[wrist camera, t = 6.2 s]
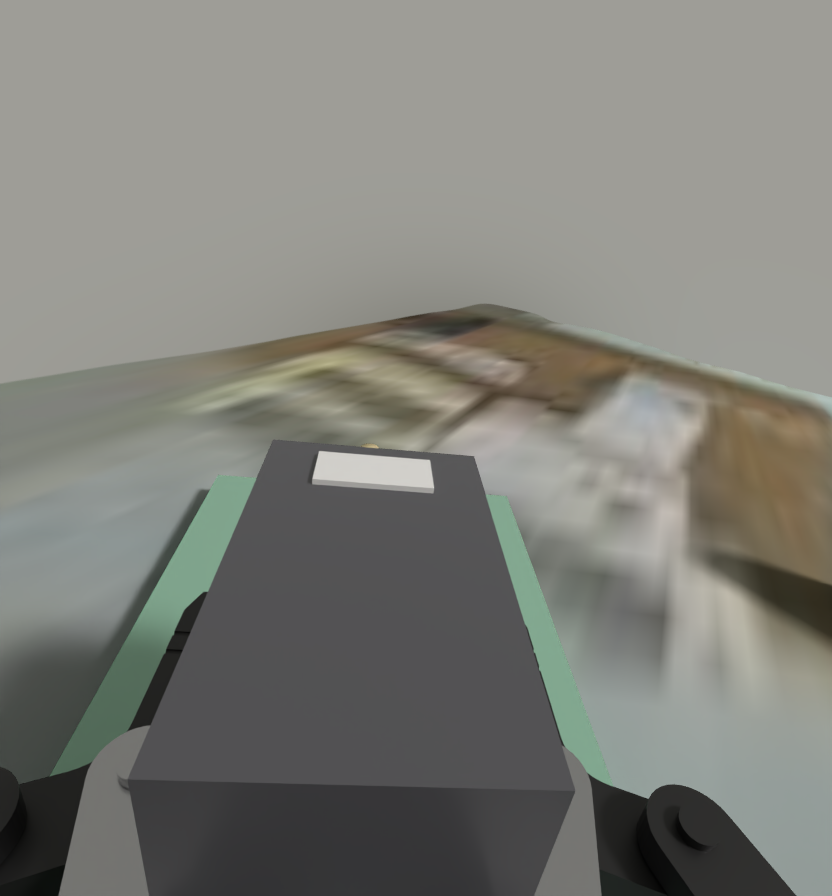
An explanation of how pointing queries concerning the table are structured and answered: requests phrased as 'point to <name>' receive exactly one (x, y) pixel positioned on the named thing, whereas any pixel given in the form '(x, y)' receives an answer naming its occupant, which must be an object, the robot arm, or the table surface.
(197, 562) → the pale green flat block
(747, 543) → the table surface
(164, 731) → the block
